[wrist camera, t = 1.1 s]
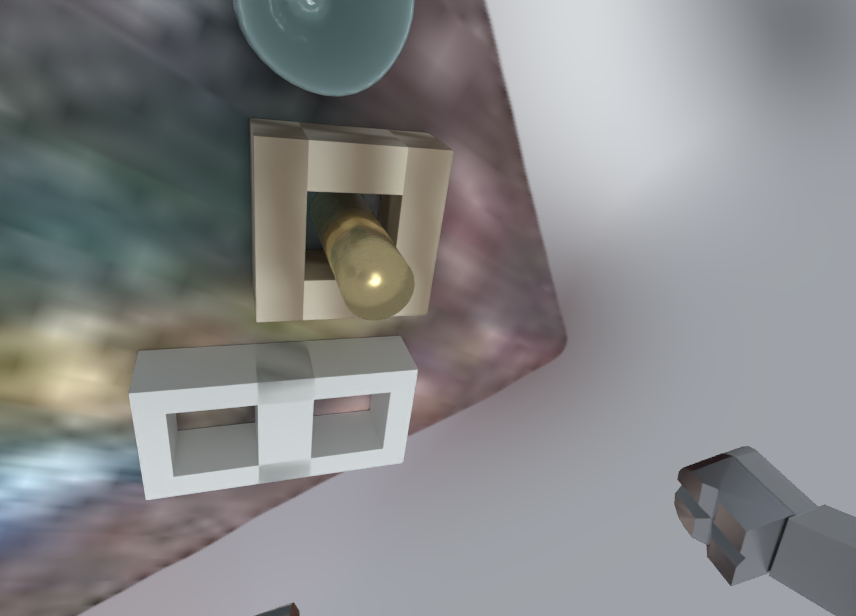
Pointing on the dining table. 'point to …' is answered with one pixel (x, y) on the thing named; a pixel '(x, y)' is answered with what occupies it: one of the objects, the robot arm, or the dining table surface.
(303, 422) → the rack
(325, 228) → the brass peg
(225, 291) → the dining table surface
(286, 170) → the socket block
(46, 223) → the dining table surface
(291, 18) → the cup
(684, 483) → the robot arm
